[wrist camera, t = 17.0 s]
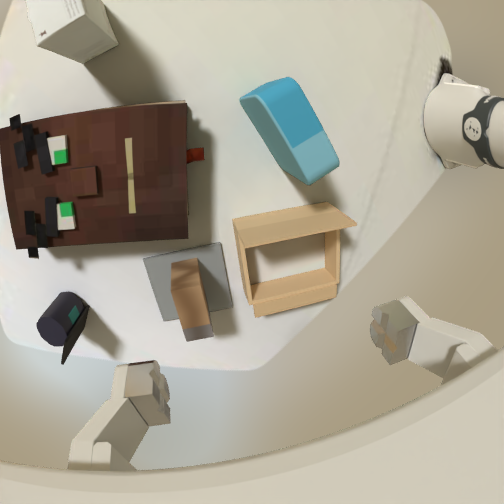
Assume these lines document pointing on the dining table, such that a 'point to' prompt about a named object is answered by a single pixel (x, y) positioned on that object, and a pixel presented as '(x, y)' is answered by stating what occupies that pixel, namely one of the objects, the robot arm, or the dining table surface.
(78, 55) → the skincare box
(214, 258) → the mat
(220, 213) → the dining table surface
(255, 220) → the drawer
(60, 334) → the speaker
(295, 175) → the blue rounded block
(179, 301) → the box
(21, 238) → the decorative book
